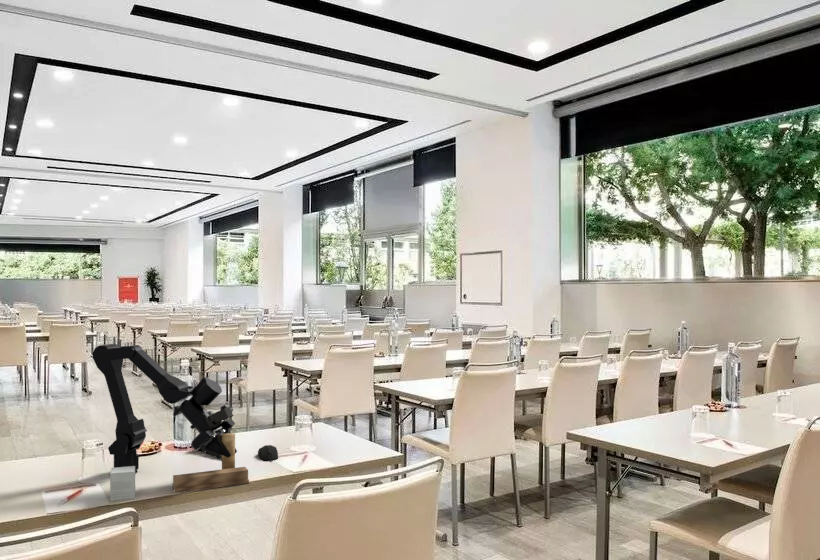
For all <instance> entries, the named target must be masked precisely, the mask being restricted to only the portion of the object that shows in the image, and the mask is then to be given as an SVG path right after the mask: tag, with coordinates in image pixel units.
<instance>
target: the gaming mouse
mask: <svg viewBox="0 0 820 560" xmlns="http://www.w3.org/2000/svg"><path fill="white" fill-rule="evenodd" d="M257 457H258V458H259V460H260V461H262V460H263V462H269V463H272V462H274V461H276V460H279V453H278V448H277V446H274V445H272V444H267V445H263V446H261V447H260V448H258V451H257ZM273 460H274V461H273Z"/></svg>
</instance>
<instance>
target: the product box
mask: <svg viewBox="0 0 820 560" xmlns="http://www.w3.org/2000/svg"><path fill="white" fill-rule="evenodd" d="M110 469H111V470H110V473H109V481H110V483H109V487H110V488H109V489H110V490H109V501H110V502H116V500H117V501H124V500H126V499H127V500H134V499H135V497H136V473H135V466H128V467H117V468H113V467H111V468H110Z"/></svg>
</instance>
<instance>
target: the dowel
mask: <svg viewBox="0 0 820 560" xmlns="http://www.w3.org/2000/svg"><path fill="white" fill-rule="evenodd" d="M222 442H223V444H224V445H225V446H226V448H227V449H228V451H229V452H230V454H231V456H230V457H229V458H228V457H225V456H223V455H222V460H221V470H222V469H230V468H236V453H235V448H236V433H233V432H232V433H231V432H230V433H226V434H222Z"/></svg>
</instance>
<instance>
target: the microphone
mask: <svg viewBox="0 0 820 560" xmlns="http://www.w3.org/2000/svg"><path fill="white" fill-rule="evenodd" d="M204 443H205V442H204ZM204 443H203V444H202V445H201V448H200V449H198V450H197V451H198V452H202V451H203V452H205V454H207V455H211V456H212V457H213V458H215V459H220V460H221V461H222V455H220V454H218V453H215V452H212V451H209V450H206V449H203V447H204V446H205V444H204Z"/></svg>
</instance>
